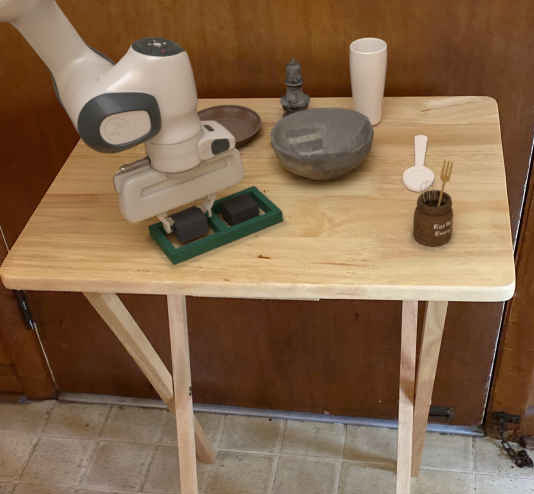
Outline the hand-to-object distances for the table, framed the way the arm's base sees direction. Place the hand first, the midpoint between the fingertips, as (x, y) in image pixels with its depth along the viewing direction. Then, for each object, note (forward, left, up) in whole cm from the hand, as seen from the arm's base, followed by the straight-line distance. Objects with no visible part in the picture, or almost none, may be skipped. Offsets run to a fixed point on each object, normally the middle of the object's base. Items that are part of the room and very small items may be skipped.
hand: (188, 223), depth 130 cm
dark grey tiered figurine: (+35, +24, -3) cm, 42 cm away
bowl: (+29, +5, -3) cm, 29 cm away
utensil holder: (+32, -22, -3) cm, 39 cm away
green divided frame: (+5, 0, -3) cm, 6 cm away
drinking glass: (+45, +14, -3) cm, 47 cm away
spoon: (+43, -4, -3) cm, 43 cm away
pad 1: (0, 0, -2) cm, 2 cm away
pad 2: (+9, 0, -3) cm, 10 cm away
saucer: (+20, +26, -3) cm, 33 cm away
